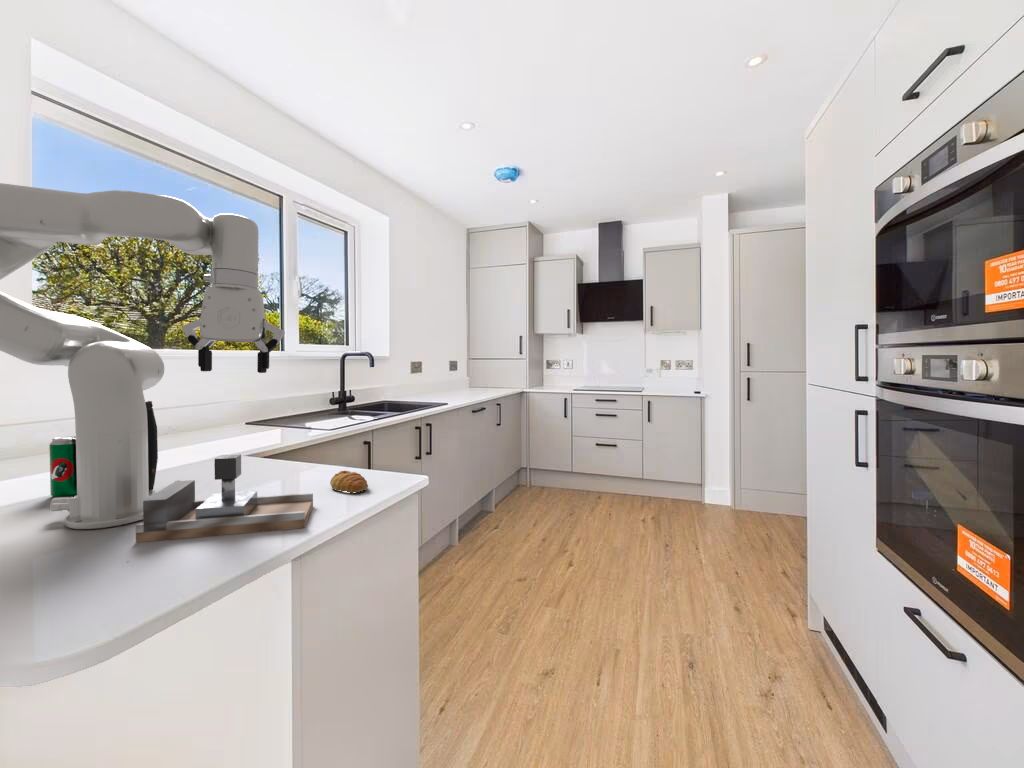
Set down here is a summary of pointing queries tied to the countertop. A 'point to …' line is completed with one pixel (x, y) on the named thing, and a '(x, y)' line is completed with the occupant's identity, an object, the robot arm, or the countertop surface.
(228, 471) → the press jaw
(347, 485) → the pastry
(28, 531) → the countertop surface
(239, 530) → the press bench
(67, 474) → the soda can
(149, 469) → the portable speaker
